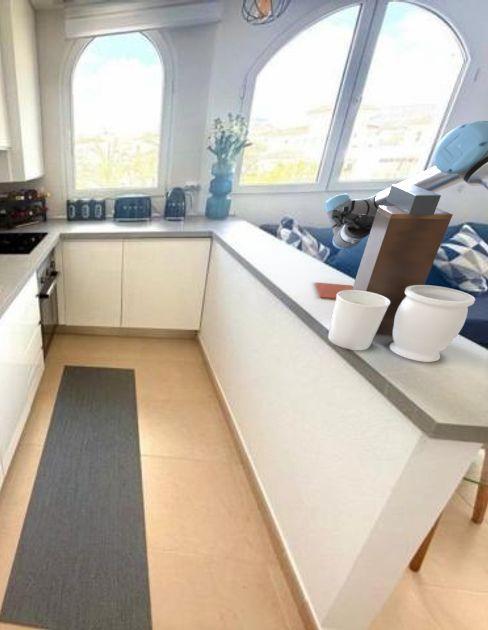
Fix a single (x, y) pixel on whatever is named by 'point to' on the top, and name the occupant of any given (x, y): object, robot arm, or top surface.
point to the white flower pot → (356, 318)
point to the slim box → (413, 199)
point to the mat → (331, 290)
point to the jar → (428, 321)
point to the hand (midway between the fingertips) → (383, 204)
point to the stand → (399, 255)
